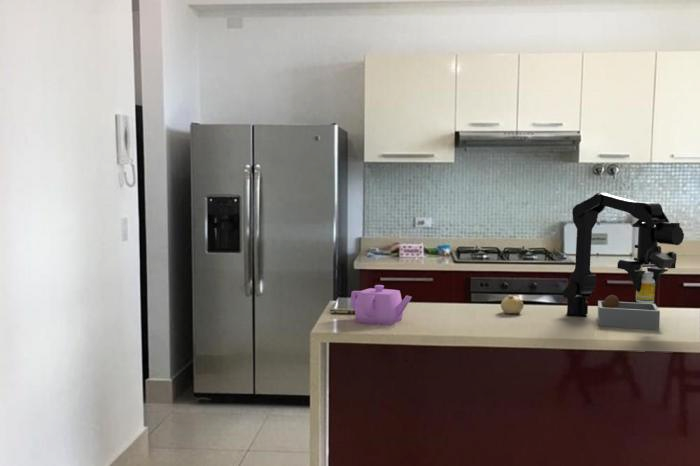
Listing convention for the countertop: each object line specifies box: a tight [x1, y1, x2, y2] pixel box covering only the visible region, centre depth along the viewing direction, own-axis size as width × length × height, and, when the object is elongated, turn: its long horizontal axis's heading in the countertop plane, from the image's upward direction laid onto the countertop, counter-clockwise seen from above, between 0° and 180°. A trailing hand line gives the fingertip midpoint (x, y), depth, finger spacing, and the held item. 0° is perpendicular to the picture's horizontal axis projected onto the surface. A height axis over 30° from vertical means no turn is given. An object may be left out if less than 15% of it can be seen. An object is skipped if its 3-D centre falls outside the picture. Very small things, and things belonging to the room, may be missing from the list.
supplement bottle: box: [635, 270, 656, 304], centre depth 199 cm, size 5×5×10 cm
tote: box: [597, 300, 661, 331], centre depth 210 cm, size 18×14×6 cm
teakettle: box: [349, 284, 412, 326], centre depth 215 cm, size 17×17×12 cm
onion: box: [500, 294, 524, 314], centre depth 228 cm, size 8×8×7 cm
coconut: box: [602, 294, 620, 308], centre depth 211 cm, size 5×5×8 cm
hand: (645, 291), depth 200 cm, fingers closed on supplement bottle, 5 cm apart
